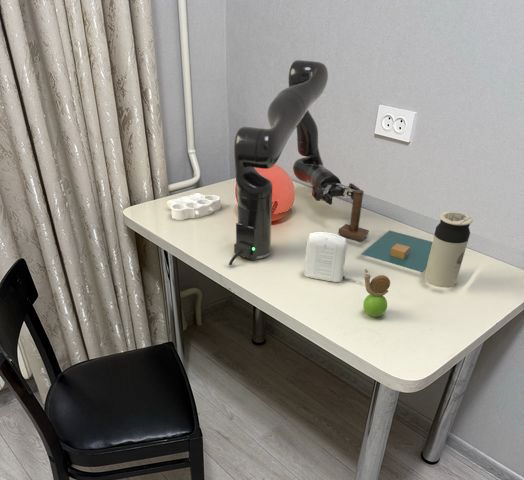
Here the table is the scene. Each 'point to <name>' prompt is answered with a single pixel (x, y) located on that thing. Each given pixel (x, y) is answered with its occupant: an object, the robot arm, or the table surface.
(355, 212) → the brown post on base
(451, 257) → the travel mug
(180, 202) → the white holed tray
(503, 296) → the table surface
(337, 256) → the photo printer
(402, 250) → the orange square block
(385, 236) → the tile
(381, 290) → the snail figurine
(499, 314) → the table surface
